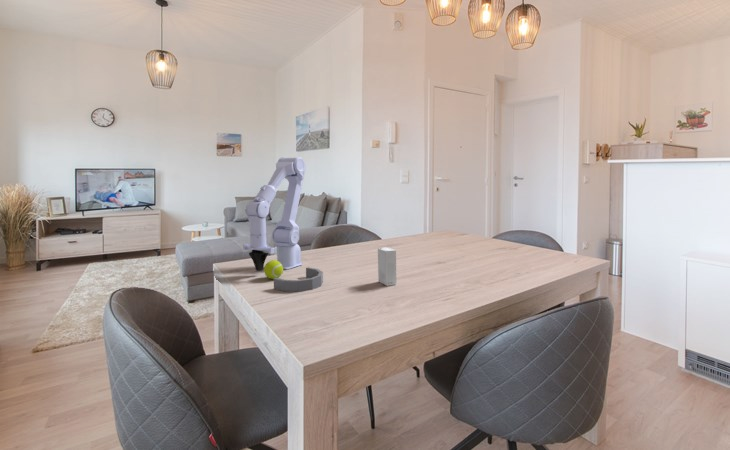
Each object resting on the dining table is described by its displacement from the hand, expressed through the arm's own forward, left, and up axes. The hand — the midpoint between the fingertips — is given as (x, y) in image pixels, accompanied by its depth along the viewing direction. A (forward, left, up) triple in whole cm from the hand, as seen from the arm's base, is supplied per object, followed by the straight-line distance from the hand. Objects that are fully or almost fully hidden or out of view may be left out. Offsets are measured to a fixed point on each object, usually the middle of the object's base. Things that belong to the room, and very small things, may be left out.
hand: (259, 270), depth 138 cm
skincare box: (-17, +44, -2) cm, 47 cm away
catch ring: (0, +21, -2) cm, 22 cm away
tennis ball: (0, +7, -2) cm, 8 cm away
